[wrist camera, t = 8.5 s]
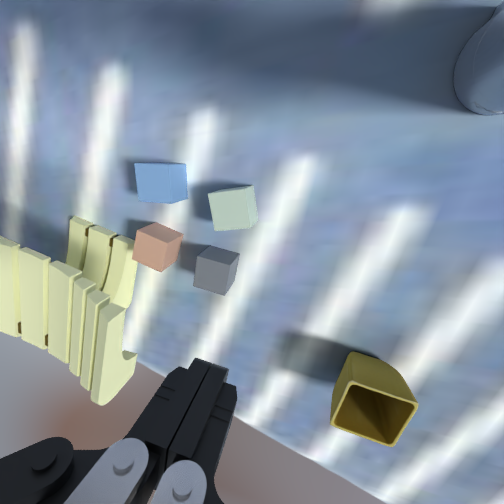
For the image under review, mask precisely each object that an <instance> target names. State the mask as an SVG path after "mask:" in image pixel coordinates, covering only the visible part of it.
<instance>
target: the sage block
mask: <svg viewBox="0 0 504 504" xmlns="http://www.w3.org/2000/svg"><path fill="white" fill-rule="evenodd" d="M208 198H209V203H210V208H211V213H212V218H213V223H214V229H215V231H223V230H234V229H245V228H251V227H252V226H253V225H254V224H255V223H256V222H257V221H258V215H257V207H256V200H255V193H254V186H253V185H251V186H244V187H237V188H229V189H222V190H218V191H215V192H212V193H209V194H208Z"/></svg>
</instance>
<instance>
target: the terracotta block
mask: <svg viewBox="0 0 504 504" xmlns="http://www.w3.org/2000/svg"><path fill="white" fill-rule="evenodd" d="M182 238H183V234H182V233H179V232H177V231H175V230H173V229H170V228H168V227H166V226H163V225H161V224H159V223H153V224H151V225H148V226H146V227H143V228H141V229H138V230H137V233H136V238H135V244H134V249H133V255H132V260H135V261H137V262H139V263H141V264H143V265H146V266H148V267H150V268H152V269H155V270H157V271H159V272H162V271H163V270H165V269H166V268H167V267H169V266H170V265H171V264H173V263H174V262H175V261H177V257H178V253H179V249H180V246H181V242H182Z"/></svg>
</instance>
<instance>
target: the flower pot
mask: <svg viewBox="0 0 504 504" xmlns="http://www.w3.org/2000/svg"><path fill="white" fill-rule="evenodd" d="M417 408H418V403H417V401H416V399H415V397H414V396H413V394H412V392H411V390H410V389H409V387H408V385H407V384H406V382H405V380H404V379H403V377H402V376H401V374H400V373H399V372H398V371H397V370H396V369H394V368H393V367H392V366H390V365H389V364H387V363H386V362H384V361H382V360H379V359H376V358H373V357H370V356H367V355H364V354H361V353H358V352H354V351H352V352H350V353H349V355H348V356H347V359H346V361H345V364H344V366H343V368H342V370H341V373H340V375H339V377H338V379H337V381H336V384H335V386H334V390H333V394H332V403H331V415H330V425H332V426H334V427H336V428H339V429H341V430H344V431H346V432H349V433H352V434H355V435H357V436H360V437H363V438H366V439H369V440H371V441H374V442H377V443H379V444H382V445H385V446H389V447H393V446H394V445H395V444H396V442H397V441H398V439H399V437H400V436H401V434H402V432H403V431H404V429H405V427H406V426H407V424H408V423H409V421H410V420H411V418H412V417H413V415H414V414H415V412H416V411H417Z"/></svg>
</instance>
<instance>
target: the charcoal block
mask: <svg viewBox="0 0 504 504" xmlns="http://www.w3.org/2000/svg"><path fill="white" fill-rule="evenodd" d="M239 255H240V254H239V253H235V252H232V251H228V250H225V249H221V248H218V247H214V246H211V245H210V246H209V247H207V248H206V249H205V250H204V251H203V252H201V253H200V254H199V255H198V256H197V261H196V269H195V276H194V283H193V286H194V287H198V288H201V289H204V290H207V291H211V292H214V293H217V294H220V295H224V296H225V294H226V293H227V291H228V290H229V288H230V287H231V285H232V284H233V282H234V280H235V275H236V270H237V265H238V260H239Z"/></svg>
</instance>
